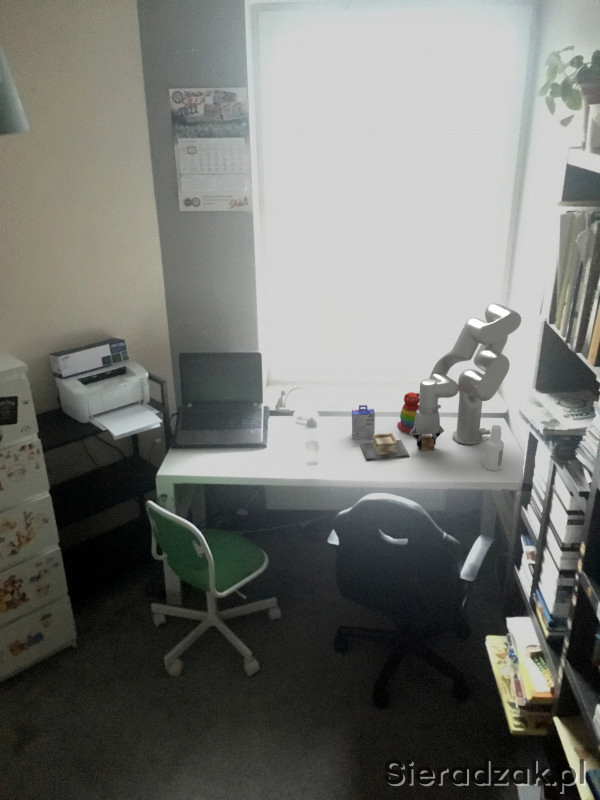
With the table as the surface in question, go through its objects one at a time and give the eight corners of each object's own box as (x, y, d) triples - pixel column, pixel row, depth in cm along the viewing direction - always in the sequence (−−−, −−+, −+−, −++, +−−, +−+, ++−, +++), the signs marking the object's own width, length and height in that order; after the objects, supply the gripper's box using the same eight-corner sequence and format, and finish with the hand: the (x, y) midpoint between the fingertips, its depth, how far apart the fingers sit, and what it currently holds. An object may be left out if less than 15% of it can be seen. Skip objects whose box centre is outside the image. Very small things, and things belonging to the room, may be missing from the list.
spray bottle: (504, 469, 254) (509, 429, 247) (489, 472, 253) (493, 432, 245) (495, 461, 260) (499, 421, 253) (480, 463, 259) (484, 424, 251)
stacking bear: (420, 423, 293) (421, 387, 285) (424, 433, 283) (426, 397, 276) (396, 424, 293) (397, 388, 285) (400, 434, 283) (401, 398, 276)
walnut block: (429, 444, 274) (430, 434, 272) (433, 450, 270) (434, 440, 268) (418, 445, 274) (419, 435, 272) (421, 451, 269) (422, 441, 267)
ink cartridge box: (373, 433, 286) (374, 403, 279) (375, 439, 281) (375, 409, 274) (351, 433, 286) (351, 404, 280) (352, 439, 281) (352, 410, 275)
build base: (400, 441, 277) (401, 429, 275) (409, 456, 266) (409, 444, 263) (360, 445, 276) (360, 433, 273) (366, 460, 264) (366, 448, 261)
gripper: (445, 403, 268) (442, 441, 276) (405, 406, 266) (404, 444, 274) (451, 410, 261) (448, 449, 269) (410, 414, 260) (408, 453, 268)
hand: (425, 446), depth 272 cm, fingers closed on walnut block, 5 cm apart
